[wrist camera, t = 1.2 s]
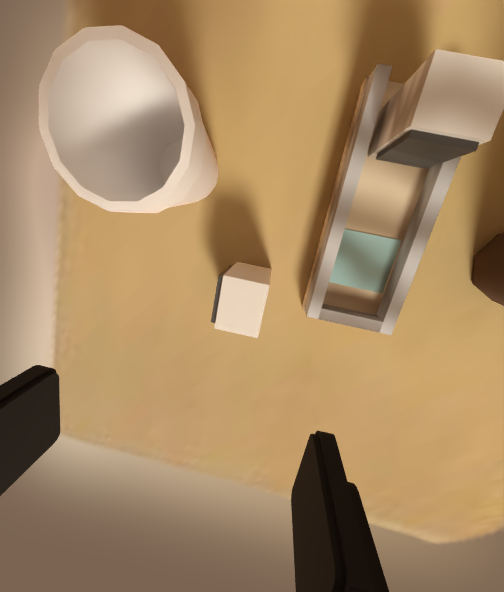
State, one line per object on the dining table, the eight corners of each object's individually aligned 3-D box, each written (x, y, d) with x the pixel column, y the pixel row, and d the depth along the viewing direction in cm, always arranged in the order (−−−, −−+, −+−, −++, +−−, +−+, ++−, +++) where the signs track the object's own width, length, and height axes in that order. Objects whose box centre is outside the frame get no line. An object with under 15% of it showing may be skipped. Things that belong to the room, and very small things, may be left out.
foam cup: (248, 147, 26) (221, 79, 14) (212, 231, 29) (161, 238, 16) (164, 102, 26) (57, -11, 13) (135, 191, 28) (23, 167, 16)
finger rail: (361, 85, 24) (413, -1, 15) (461, 103, 23) (578, 27, 14) (301, 305, 30) (312, 341, 21) (380, 322, 30) (424, 367, 21)
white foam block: (226, 301, 31) (209, 327, 23) (233, 260, 29) (217, 273, 22) (262, 309, 31) (257, 338, 23) (271, 268, 29) (269, 285, 22)
